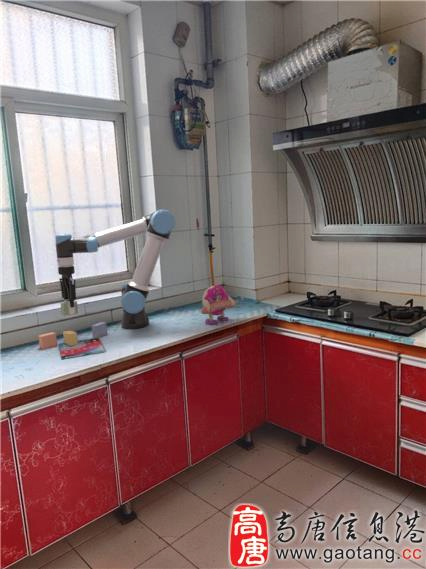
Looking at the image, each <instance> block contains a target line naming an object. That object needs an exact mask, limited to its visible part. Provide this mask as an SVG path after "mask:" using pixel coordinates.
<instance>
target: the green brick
mask: <svg viewBox="0 0 426 569" xmlns="http://www.w3.org/2000/svg"><path fill="white" fill-rule="evenodd" d="M74 307H75V313H74V314H69V306H68V302H65V301H64V302H63V301H62V302H60V314H61V315H62V316H70V315H75V314H79V311H78V310H79V307H78V301H76V300H74Z"/></svg>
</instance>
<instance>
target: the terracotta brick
mask: <svg viewBox="0 0 426 569" xmlns="http://www.w3.org/2000/svg"><path fill="white" fill-rule="evenodd" d="M37 338H38V344H39V349H42V350H45V349H49V348H52V347H57V346H58V340H57V333H56V332H53V331H51V332H47V333H42V334H40V335H39V334H38V336H37Z"/></svg>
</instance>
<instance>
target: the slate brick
mask: <svg viewBox="0 0 426 569" xmlns="http://www.w3.org/2000/svg"><path fill="white" fill-rule="evenodd" d="M90 327H91V332H92V333H91V335H92V338H101V337H104V336H105V335H107V334H108V329H107V328H108V326H107V322H104V321H103V322H102V321H100V322H98V323H95V324H92V325H91V326H90Z"/></svg>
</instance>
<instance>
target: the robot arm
mask: <svg viewBox="0 0 426 569" xmlns="http://www.w3.org/2000/svg"><path fill="white" fill-rule="evenodd" d="M175 227H176V219H175V216H174V214H173V213H172V212H171V211H170V210H167V209H163V208H161V209H158V210H155V211H154V212H152V213H149V214H148V215H144V216H142V218H141V219H138V220H134V221H131V222H129V223H125V224H120V225H118V226H114V227H112V228H107V229H105V230H102V231H98V232H95V233H91V234H87V235H84V236H83V237H82V236H81V237H73V236H72V234H71V233H61V234H60V233H59V234H56V235H55V251H56V262H57V272H58V275H60V276H61V278H59V285H60V291H61V298H62V299H63V300H64V302H68V306H69V314H72V315H75V314H74V313H75V307H74V301H76V300H77V293H76V291H77V290H76V279H74V278H73V274H75V273H76V272H75V266H74V265H75V260H74V259H75V258H74V254H86V253H88V254H89V253H90V254H91V253H97V252H98V251H99V248H102V247H106V246H108V245H112V244H115V243H119V242H121V241H124V240H129V239H130V238H135V237H138V236H141V235H144V234H145V235H146V234H147V238H146V240H145V243H144V246H143V249H142V251H141V254H140V257H139V259H138V262H137V264H136V268H135V270H134V272H133V275H132V278H131V280H130V281H128V282H126V283H124V284H121V286H120V291H121V292H120V293H121V298H120V299H121V302H120V304H121V306H122V311H123V312H122V316H121V320H120V321H121V322H120V325H121V326H120V327H121V328H122V329H126V330H135V329H141V328H146V327H148V326H149V325H150V319H149V317H148V316H149V315H148V314H147V312H146V307H145V306H146V303H147V298H148V296H149V292H150V289H149V284H150V281H151V278H152V276H153V273H154V271H155V268H156V265H157V263H158V261H159V257H160V255H161V253H162V249H163V247H164V244H165V242H167V241H169V239H170V236H171V234H172V232H173V230H174V229H175Z"/></svg>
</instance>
